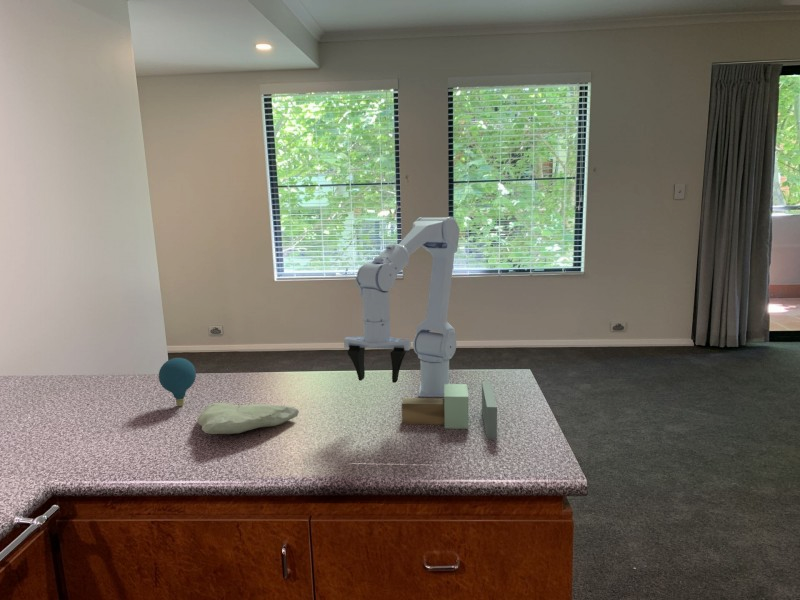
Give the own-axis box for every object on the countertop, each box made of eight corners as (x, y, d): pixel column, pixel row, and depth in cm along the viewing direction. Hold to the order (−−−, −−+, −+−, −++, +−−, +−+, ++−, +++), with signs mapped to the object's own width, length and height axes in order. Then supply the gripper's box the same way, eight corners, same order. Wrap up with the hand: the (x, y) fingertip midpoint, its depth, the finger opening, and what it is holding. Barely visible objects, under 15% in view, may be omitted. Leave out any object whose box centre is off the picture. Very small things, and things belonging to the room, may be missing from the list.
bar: (403, 419, 120) (403, 397, 120) (457, 419, 119) (457, 398, 118) (402, 425, 117) (401, 403, 116) (457, 426, 116) (457, 404, 115)
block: (444, 414, 122) (444, 384, 121) (466, 414, 121) (466, 384, 120) (444, 428, 114) (444, 396, 113) (468, 428, 113) (468, 396, 112)
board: (481, 410, 124) (481, 381, 123) (490, 410, 124) (490, 381, 123) (486, 440, 108) (487, 407, 107) (496, 440, 108) (497, 407, 107)
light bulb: (173, 414, 126) (168, 365, 123) (155, 407, 131) (150, 359, 128) (205, 404, 132) (201, 356, 130) (186, 397, 137) (182, 352, 135)
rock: (209, 420, 128) (153, 440, 108) (210, 394, 128) (154, 409, 108) (303, 427, 123) (262, 449, 103) (303, 400, 123) (263, 417, 103)
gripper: (338, 322, 113) (340, 383, 115) (404, 324, 109) (406, 388, 112) (349, 315, 120) (351, 374, 122) (412, 317, 116) (413, 377, 118)
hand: (378, 380), depth 117 cm, fingers open, 7 cm apart
